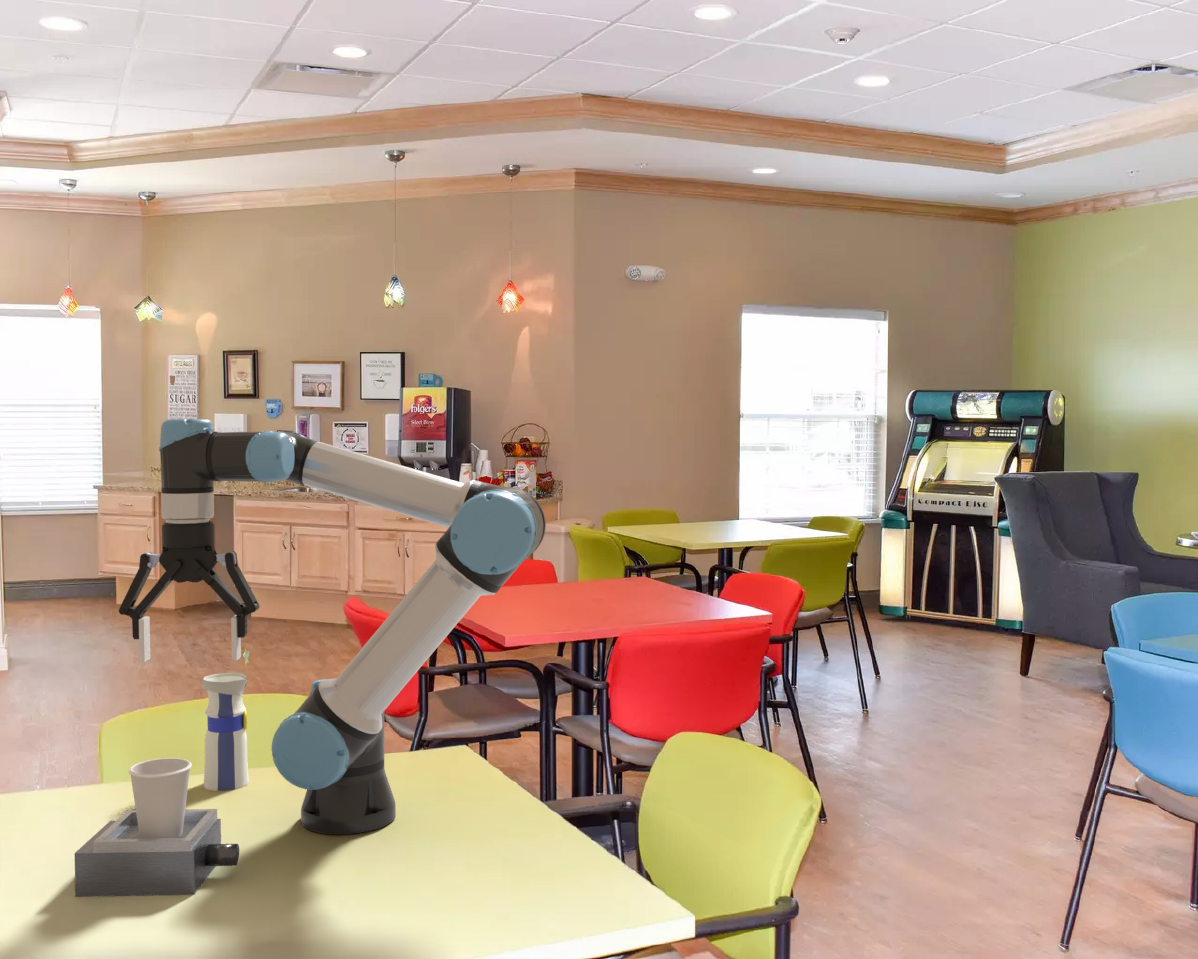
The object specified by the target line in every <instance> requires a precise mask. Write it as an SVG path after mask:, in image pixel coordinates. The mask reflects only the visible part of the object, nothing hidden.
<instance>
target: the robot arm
mask: <svg viewBox="0 0 1198 959" xmlns="http://www.w3.org/2000/svg"><path fill="white" fill-rule="evenodd" d="M159 437H160V441H159V442H160V443H159V448H158V450H159V454H160V455H159V456H160V458H159V459H160V478H161V479H160V481H161V488H160V489H161V491H160V492H161V494H160V497H161V498H160V499H161V503H160V504H161V505H160V506H161V514H160V515H161V516H160V517H161V519H163V520H164V521H165V522H163V523H162V524H161V546H162V547H161V548H162V549H161V554H157V553H153V552H151V551H148V552H144V553H142V554H141V555H140V556H139V566H138V570H137V572H136V573H135V575H134V577H133V580H132V582H131V583H130V586H129V588H128V591H127V592H126V595H124V596H125V597H124V598H123V601H122V602H121V604H120V607H119V609H118V613H119V614H120V615H121V616H122V615H124V616H128V617H129V618H130V619H131V623H132V624H131V625H132V626H131V627H132V628H131V629H132V638H133V640H138V650H139V651H138V652H139V657H138V658H139V663H146V662H148V661H149V660H150V659H151V629H150V628H151V626H150V625H151V623H150V620H151V619H150V618H151V617H150V616H144V615H145V614H146V612H147V611H148V610H149V609H150V608H151V606H152V605H153V604H154V603H155V602H156V600H157V599H158V598H160V596H161V595H162V593H163V592H164V591H165V590H166V589H167V588H168V586H170V585H171V583H172V582H176V583H177V584H180V583H186V582H189V583H200V582H202V581H203V582H205V584H207V585H208V586H209V587H210V588H211V589H212V590H213V591H214V592H215V594H216V595H217V596H219V598H220V599H221V600H222V601H223V602H224V604H225V605H226V606H227V607H228V608H229V609H230V610H231V611H232V612H233V613H234V614H235V615H233V616H232V617H230V632H231V634H230V642H231V644H230V645H231V648H230V649H231V661H232V662H233V661H238V660H239V659H241V657H242V642H241V641H242V638H245V637H246V636H247V635H248V615H249V614H253V613H255V612H256V611H258V610H259V609H260V603H259V602H258V600H257V598H256V596H255V594H254V592H253V591H252V588H251V587H250V585H249V583H248V581H247V579H246V577H245V575H244V574H243V571H242V570H241V568H240V566H239V562H238V556H237V555H238V554H237V552H236V551H234V550H230V551H229V552H226V553H217V551H216V548H215V547H216V546H215V545H216V544H215V543H216V542H215V538H216V537H215V534H216V533H215V523H214V521H211V519H213V518H214V517H215V500H214V499H215V494H214V488H215V487H214V483H215V482H244V483H245V482H246V483H249V482H252V483H255V482H260V483H266V484H267V483H273V482H283V481H286V482H290V483H294V484H297V485H301V486H306V487H309V488H312V489H316V490H319V491H322V492H326V493H330V494H332V495H336V496H339V497H341V498H342V497H343V498H345V499H346V498H347V499H349V500H353V501H355V502H356V501H357V502H359V503H363V504H366V505H369V506H372V507H377V508H380V509H383V510H386V511H390V512H393V513H397V514H400V515H403V516H406V517H410V518H413V519H416V520H419V521H423V522H426V523H431V524H433V525H435V526H436V525H437V526H440V527H443V528H446V531H445V532H444V533H442V534H443V535H442V536H441V537H440V538H439V539H438V540H437V542H436V543H435V544H434V549H435V560H434V561H433V562H432V564H431V565H430V566H429V567H428V569H426V570H425V572H424V573H423V574H422V575H421V576H420V578H419V579H417V582H416V583H414V585H413V586H412V587H411V589H410V590H409V591H408V592H407V594H406V595H405V596H404V597H403V598H402V600H400V602H399V603H398V605H397V606H396V607H395V608H394V609H393V611H391V613H390V614H389V615H388V616H387V618H385V620H384V621H383V623H382V624H381V625H380V626H379V627H378V628H377V630H376V631H374V633H373V634H372V635H371V637H370V638H369V639H368V640H367V641H366V643H365V644H364V645H363V646H362V647H361V648H360V650H359V652H357V654H355V656H354V657H353V658H352V659H351V661H350V662H349V663H348V664H347V666H346V667H345V668H344V669H343V670H342V672H341V673H339V675H338V676H337V677H336V678H324V679H323V678H322V679H318V680H315V681H314V682H312V684H311V688H310V692H309V695H308V696H307V698H306V699H304V701H303V703H301V705H300V706H299V707H298V708H297V709H296V710H295V711H294V713H292V714H291V715H289V716H288V717H286V718H285V719H283V720H282V722H280V723H279V726H278V727H277V729H276V731H275V732H274V734H273V738H272V741H271V754H272V756H271V757H272V761H273V763H274V765H275V768H276V769H277V771H278V773H279V774H280V775H281V776H282V777H283V779H285V780H286V781H287V782H288V783H289V784H291V785H293V786H295V787H297V788H300V789H303V790H306V792H305V796H304V798H303V801H302V805H301V807H300V824H301V825H302V827H304V829H306V830H308V831H311V832H315V833H319V834H325V835H353V834H360V833H367V832H370V831H374V830H378V829H380V828H383V827H385V826H387V825H389V824H391V823H392V822H393V821H394V820H395V818H396V816H397V815H396V814H397V813H396V809H397V807H396V801H395V800H396V799H395V797H394V794H393V791H392V788H391V785H390V782H389V780H388V776H387V773H386V769H385V710H387V708H388V707H389V706H390V704H391V703H392V702H393V701H394V700H395V698H396V697H397V696H398V695H399V694H400V692H401V691H402V690H403V689H404V687H405V686H406V685H407V684H408V683H409V682H410V681H411V679H412V678H413V677H414V676H415V675H416V673H417V672H418V671H420V669H421V667H422V666H423V665H424V664H425V663H426V662H427V660H428V659H429V658H430V657H431V656H432V655H433V653H434V652H436V649H438V648H439V646H440V645H441V644H442V643H443V641H444V640H445V639H446V638H447V637H448V635H449V634H450V633H451V632H452V631H453V630H454V628H455V627H456V626H457V624H458V623H459V622H460V621H461V620H462V618H464V616H465V615H466V614H467V613H468V612H469V610H470V609H471V608H472V607H473V606H474V604H475V603H476V602H477V601H478V599H479V598H481V596H494V595H496V594H497V593H498V592H499V590H500V589H502V587H503V586H504V584H506V582H508V580H509V579H510V578H511V576H512V575H513V574H514V573H515V572H516V571H517V570H518V569H519V567H520V566H521V565H522V563H524V561H526V559H527V558H528V557H530V556H531V555H533V554H534V553H535V552H536V551H537V550H538V548H539V547H540V545H541V543H542V541H543V540H544V537H545V535H546V527H547V522H546V516H545V512H544V510H543V508H542V506H541V504H540V502H538V500H537V499H536V498H535V497H534V496H533V495H532V494H530V493H529V492H528V491H526V490H522V489H521V488H517V487H511V486H502V485H498V484H497V485H496V484H492V483H488V482H483V481H480V480H477V479H472V480H470V481H468V482H466V483H464V482H461V481H458V480H453V479H450V478H447V477H444V476H439V475H436V474H433V473H429V472H426V471H423V470H419V469H415V468H412V467H409V466H404V465H401V464H398V463H394V462H391V461H389V460H388V461H387V460H384V459H381V458H378V457H374V456H370V455H367V454H363V453H360V452H357V451H353V450H350V449H347V448H342V447H340V446H336V445H332V444H329V443H326V442H322V441H317V440H314V439H311V438H309V437H308V438H307V437H306V436H304V435H303V434H300V433H299V432H296V431H290V430H279V431H272V430H261V431H228V432H227V431H225V432H222V431H215V430H214V426H213V422H212V421H211V420H210V419H206V418H205V419H204V418H187V419H186V418H185V419H184V418H181V419H180V418H176V419H175V418H170V419H166V420H164V421H163V422H162V423H161V425H160V436H159ZM218 562H219V563H220V564H221V566H222V567H224V568H226V571H227V573H228V575H229V577H230V579H231V580H232V583H233V584H234V587H235V588H236V590H237V592H238V594H239V596H240V598H241V600H242V601H241V600H240V599H239V598H238V596H236V595H235V593H234V592H233V591H232V590H231V588H229V587H228V586H227V584H225V583H224V581H223V580H222V579H221V577H220V576H219V574H218V573H217V572H216V570H214V567H215V566H216V565H217V563H218ZM158 563H160V566H162V568H163V569H164V570H165V571H164V572H163V574H162V575H161V577H159V579H158V581H157V582H156V583H155V584H154V585H153V586H152V588H151V589H150V590H149V591H148V593H147V594H146V595H145V596H144V597H143V599H142V600H141V601H140V602H139V603H138V605H137V606H135V604H136V603H137V601H138V598H139V597H140V595H141V592H142V590H143V588H144V587H145V584H146V582H147V580H148V578H149V576H150V574H151V571H152V569H153V568H155V567H156V566H157V564H158Z"/></svg>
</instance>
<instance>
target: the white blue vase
mask: <svg viewBox="0 0 1198 959" xmlns="http://www.w3.org/2000/svg"><path fill="white" fill-rule="evenodd" d="M249 656H250V650H247V646H245V647H244V652H243V654H241V657H243V658H244V666H246V665H247V664H250V659H249V658H250V657H249ZM247 684H248V679H247V676H246V675H245V674H243V673H240V672H239V673H238V672H225V673H223V672H222V673H214V674H209V675H207V676H204V677H203V678H202V682H201V689H202V690H204V691H206V693H207V696H208V705H207V707H206V709H205V711H204V714H205V715H207V716H206V717H207V731H206V733H205V737H204V770H203V771H204V775H203V776H204V777H203V788H204V789H206V790H208V791H215V792H216V791H217V792H222V791H233V790H237V789H241V788H243V787H246V786H247V785H248V784H249V782H250V781H249V766H248V738H247V737H248V736H247V729H248V721H247V720H248V718H247V717H248V716H247V715H248V713H247V708H246V706H245V705H244V702H243V701H244V700H243V698H244V697H243V693H244V692H245V690H246V687H247Z"/></svg>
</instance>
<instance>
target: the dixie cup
mask: <svg viewBox="0 0 1198 959" xmlns="http://www.w3.org/2000/svg"><path fill="white" fill-rule="evenodd" d="M192 767H193V764H192V762H191V761H189V760H188V759H184V758H178V757H164V758H163V757H161V758H154V759H148V760H144V761H140V762H138V763H136V764H133V765H132V766H131V767H129V768H128V773H129V775H130V779H131V787H132V792H133V800H134V801H133V802H134V807H135V810H136V815H137V822H138V828H139V835H140V839H157V838H178V837H180V836H181V835H182V833H183V824H184V816H185V809H186V807H187V797H188V796H187V795H188V790H189V788H188V787H189V781H190V771H191V768H192Z"/></svg>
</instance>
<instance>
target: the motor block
mask: <svg viewBox="0 0 1198 959" xmlns="http://www.w3.org/2000/svg"><path fill="white" fill-rule="evenodd" d="M221 820H222V819H221V818H218V808H202V809H201V808H200V809H199V808H197V809H195V808H194V809H189V808H188V809H187V808H185V816H184V824H183V833H182V835H181V836H180V837H178V838H157V839H140V835H139V828H138V822H137V815H136V809H134V810H133V809H129V810H126V811H125V812H124V813H123V814H122V815H121V816H120V817H119V818H117V820H109V821H108V822H107V823H106V824H105V825H104V826H103V827H102V828H100V829H99V831H97V832H96V833H95V834H94V835H93V836H91V838H89V840H87V841H86V842H85V843H84V844H83V845H82V846H81V847H80V848H79V849H78V850H76V851H75V852H74V890H75V891H74V893H75V894H74V896H75V898H76V897H78V898H80V897H82V898H83V897H122V896H123V897H126V896H127V897H129V896H130V897H132V896H171V895H172V896H175V895H176V896H177V895H179V896H181V895H182V896H183V895H195V894H197V892H198V891H199V889H200V888H201V886H202V885H203V884H204V882H206V880H207V879H208V877H209V876H210V874H211V873H212V872H213V870H214V869H215V868H216V867H232V866H233V867H236V866H237V865H238V863H239V859H240V846H239V843H222V826H221V824H222V822H221Z"/></svg>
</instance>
